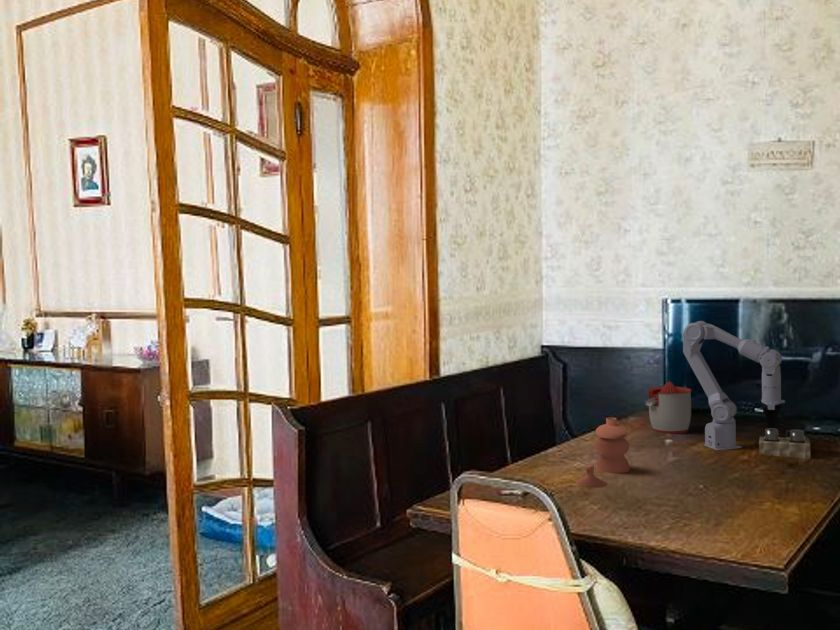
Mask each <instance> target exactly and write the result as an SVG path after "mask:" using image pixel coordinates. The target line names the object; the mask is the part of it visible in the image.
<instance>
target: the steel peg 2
mask: <svg viewBox="0 0 840 630" xmlns="http://www.w3.org/2000/svg"><path fill="white" fill-rule="evenodd" d="M789 430H790V443H804V436H805V435H804V434H805V431H804V430H802V429H789Z"/></svg>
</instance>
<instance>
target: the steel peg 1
mask: <svg viewBox="0 0 840 630" xmlns="http://www.w3.org/2000/svg"><path fill="white" fill-rule="evenodd" d="M764 437H765V441H771V442H778V437H779V429H778V428H768V427H767V428H765V429H764Z"/></svg>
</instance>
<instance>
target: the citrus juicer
mask: <svg viewBox="0 0 840 630" xmlns="http://www.w3.org/2000/svg"><path fill="white" fill-rule="evenodd" d="M647 391H648V393H647V394H648V395H647V396H648V397H647V398H648V399H647V400H646V401H645V405H646V406H648V414H649V421H650V425H651V429H652V431H654V432H655V433H660V434H670V435H673V434H674V435H681V434H686V433H688V431H689V427H690V423H691V417H692V396H691V395H692V393H691V392H692V389H691V388H689V387H683V386H676V385H674V383H673V382H671V381H668V382H666V383H665V384H664V385H663V386H655V387H650V388H648V389H647Z"/></svg>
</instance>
